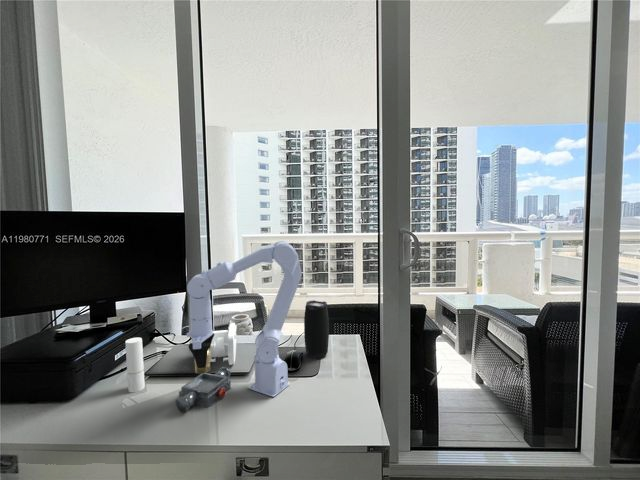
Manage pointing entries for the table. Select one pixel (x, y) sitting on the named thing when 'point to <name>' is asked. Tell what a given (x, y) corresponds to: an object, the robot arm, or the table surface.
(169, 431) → the table surface
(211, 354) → the cable organizer
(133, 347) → the tube
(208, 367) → the brass cylinder
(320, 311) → the portable speaker
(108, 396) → the table surface
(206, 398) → the valve body
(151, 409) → the table surface
